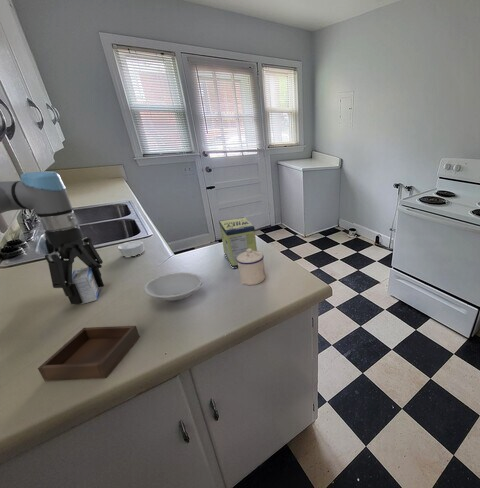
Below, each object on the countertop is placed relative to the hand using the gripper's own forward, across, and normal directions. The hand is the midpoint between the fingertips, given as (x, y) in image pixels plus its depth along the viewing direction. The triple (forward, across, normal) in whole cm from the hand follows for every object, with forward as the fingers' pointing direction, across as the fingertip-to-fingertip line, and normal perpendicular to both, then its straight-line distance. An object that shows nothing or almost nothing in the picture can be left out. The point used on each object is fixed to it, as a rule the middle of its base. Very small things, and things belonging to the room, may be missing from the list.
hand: (88, 294), depth 86 cm
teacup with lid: (+1, +9, -49) cm, 50 cm away
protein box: (+1, +25, -42) cm, 49 cm away
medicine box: (+1, 0, 0) cm, 1 cm away
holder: (+1, -26, -20) cm, 33 cm away
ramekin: (+1, +33, +5) cm, 33 cm away
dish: (+1, -2, -28) cm, 28 cm away
